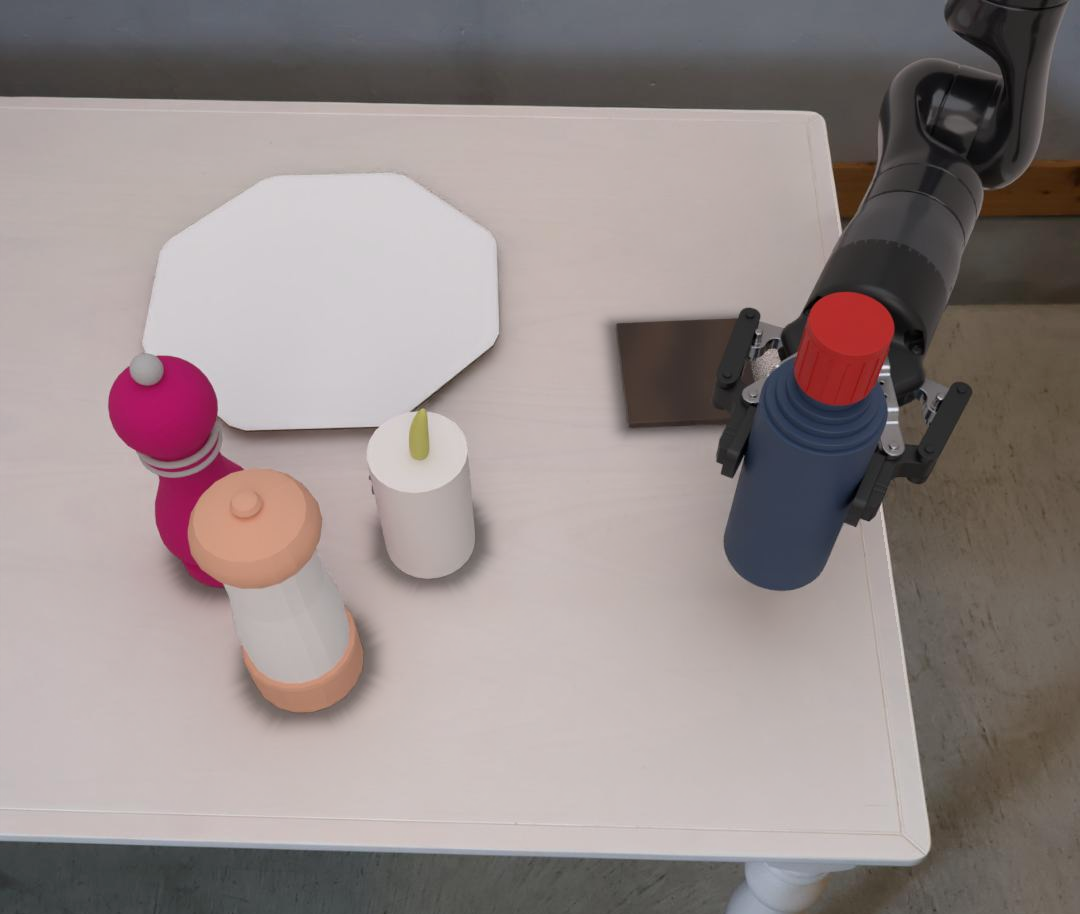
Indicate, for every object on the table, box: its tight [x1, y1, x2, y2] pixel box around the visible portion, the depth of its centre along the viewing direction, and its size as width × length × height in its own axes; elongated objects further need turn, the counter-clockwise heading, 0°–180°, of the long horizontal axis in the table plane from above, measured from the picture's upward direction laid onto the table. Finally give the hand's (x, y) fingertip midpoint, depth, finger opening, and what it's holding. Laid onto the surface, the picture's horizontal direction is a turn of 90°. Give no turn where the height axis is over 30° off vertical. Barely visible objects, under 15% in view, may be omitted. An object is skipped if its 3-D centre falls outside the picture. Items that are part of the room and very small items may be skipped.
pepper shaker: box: [188, 468, 365, 713], centre depth 65 cm, size 7×7×19 cm
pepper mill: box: [107, 352, 245, 588], centre depth 69 cm, size 7×7×20 cm
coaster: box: [615, 317, 755, 429], centre depth 86 cm, size 10×10×1 cm
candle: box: [366, 408, 476, 580], centre depth 71 cm, size 6×6×15 cm
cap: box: [794, 292, 894, 406], centre depth 52 cm, size 4×4×4 cm
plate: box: [141, 172, 500, 433], centre depth 89 cm, size 28×28×2 cm
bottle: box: [723, 357, 888, 592], centre depth 60 cm, size 6×6×20 cm
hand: (790, 492), depth 59 cm, fingers closed on bottle, 6 cm apart
